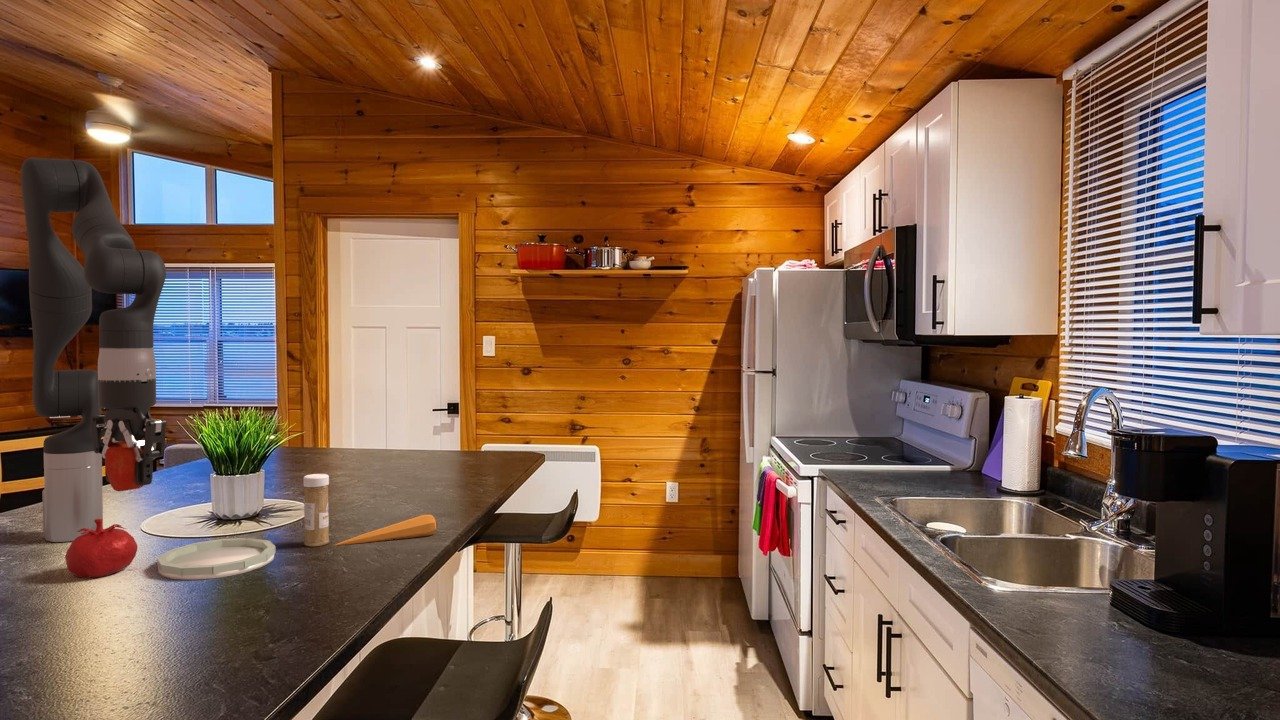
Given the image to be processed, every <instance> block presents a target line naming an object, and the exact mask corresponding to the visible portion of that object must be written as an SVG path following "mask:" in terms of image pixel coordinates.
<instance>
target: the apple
mask: <svg viewBox="0 0 1280 720" xmlns="http://www.w3.org/2000/svg"><path fill="white" fill-rule="evenodd" d="M141 451H142V453H143V452H144V448H143V447H141ZM135 462H137V461H136V459H135V457H134V454H133V451H132V450H131V449H129V448H128V446H127V444H123V445H114V446H111V447H110V448H108V449H107V451H106V454H105V458H104V467H105V466H106V471H107V475H108V479H109V482H108V483H109V484H110V486H111V488H112V489H113V490H114V491H116V492H125V491H126V492H127V491H130V490H131V491H132V490H137V489H141V488H142V487H144V485H143V486H138V485H136V484H135Z"/></svg>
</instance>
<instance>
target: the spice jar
mask: <svg viewBox="0 0 1280 720" xmlns="http://www.w3.org/2000/svg"><path fill="white" fill-rule="evenodd" d="M329 485H330V476H329V475H328V474H327V473H313V474H312V473H311V474H307V475H304V476H303V489H304V501H303V504H304V505H303V511H304V515H303V516H304V520H303V521H304V542H303V544H304V546H306V547H312V548H313V547H322V546H325V545H327V544H329V543H330V539H329V526H330V522H329V521H330V517H329V515H330V514H329V513H330V512H329V511H330V510H329Z"/></svg>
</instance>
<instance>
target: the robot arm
mask: <svg viewBox="0 0 1280 720" xmlns="http://www.w3.org/2000/svg"><path fill="white" fill-rule="evenodd" d="M20 184H21V185H20V187H21V195H22V203H23V211H24V218H25V225H26V234H27V246H28V289H29V290H28V293H29V305H30V306H29V307H30V316H31V317H30V318H31V326H32V338H33V339H32V340H33V355H32V356H33V357H32V358H33V359H32V361H33V362H32V364H33V365H32V403H33V407H34V410H35V412H36V414H37V415H38V416H40V417H43V418H59V417H61V418H62V417H63V418H64V417H65V418H66V417H81V420H80V422H78V423H77V424H75V425H74V426H73V427H70V428H69V429H67V430H64V431H61V432H58V433H55V434H52V435H49V436H47V437H46V438H45V439H43V446H42V447H43V469H44V471H43V478H44V481H43V483H44V489H43V490H42V499H41V500H42V531H43V532H42V536H43V538H45V541H47V542H55V543H59V542H60V543H62V542H63V543H65V542H73V541H74V540H75V539H76V538H77V537H78V536H81V535H83V534H81V533H83V532H85V531H80V532H77V531H79V530H81V529H83V528H85V529H89V530H95V531H96V523H95V520H96V519H103V521H102V527H103V528H104V518H103V517H104V515H103V513H104V504H103V500H104V498H103V459H105V454H106V451H107V449H108V448H110V447H111V446H114V445H123V444H127V446H128V448H129V449H131V450H132V451H133V454H134V457H135V459H136V461H137V462H135V484H136V485H138V486H143V487H144V486H148V485H151V484H152V482H153V477H154V476H153V461H154V460H155V459H156V458H160V457H163V456H164V454H165V443H166V442H165V441H166V431H167V421H166V419H164V418H161V419H159V418H158V419H155V418H153V417H152V415H151V410H150V409H151V408H152V407H153V406H155V405H156V404H157V376H156V375H157V371H156V369H157V368H156V367H157V366H156V362H157V361H156V358H155V357H156V356H155V352H154V351H155V348H154V321H155V316H156V312H157V308H158V304H159V300H160V297H161V294H162V292H163V288H164V286H165V281H166V279H167V278H166V277H167V268H166V265H165V262H164V260H163V258H162V257H161V256H160V255H159V254H158V253H156V252H154V251H151V250H145V249H136V245H135V241H134V240H133V238H132V237H131V235H130V234H129V233H128V231H127V230H126V229H125V227H124V226H123V224H122V223H121V222H120V220H119V219H118V217H117V214H116V212H115V209H114V206H113V203H112V201H111V198H110V195H109V193H108V191H107V188H106V186H105V183H104V181H103V178H102V176H101V174H100V172H99V171H98V170H97V168H96V167H95V166H94V165H93V164H92V163H90V162H88V161H85V160H77V159H65V158H48V157H47V158H46V157H28V158H26V159H25V160H24V161H23V163H22V165H21V169H20ZM51 213H72V214H73V213H77V214H76V216H75V217H74V219H73V220H72V225H71V232H72V236H73V239H74V241H75V243H76V244H77V246H78V247H79V249H80V251H81V252H82V254H83V257H84V265H82V264H81V262H80V261H79V260H77V258H76V257H75V256H74V255H73V254H72V253H71V252H70V251H69V250H68V248H67V247H66V245H64V244H63V242H62V241H61V239H60V238H59V236H58V235H57V234H56V232H55V230H54V229H53V226H52V222H51V219H50V218H51V215H50V214H51ZM92 290H94V291H97V292H99V293H103V294H115V295H119V294H120V295H134V296H135V297H134V299H133V301H132V302H131V303H130V304H129V305H128V306H125V307H122V308H120V307H119V308H116V309H109V310H106V311H102V312H101V314H100V316H99V317H98V318H99V319H98V324H99V325H98V331H99V332H98V338H99V340H98V341H99V352H98V358H97V370H95V369H55V366H56V363H57V361H58V359H59V357H60V355H61V353H62V352H63V350H64V349H65V348H66V346H67V345H68V344H69V343H70V341H72V340H73V338H74V337H75V336H76V335H77V334H78V333H79V332H80V330H81V329H82V328H83V326H85V325H86V323H87V322H88V321H89V318H90V317H91V315H92V311H93V299H92V298H93V297H92V296H93V293H92V292H93V291H92ZM102 409H106V410H105V414H103V415H102ZM102 438H103V439H102ZM143 439H144V440H143ZM102 443H103V444H102ZM154 444H155V449H154V447H153V446H154ZM141 447H143V448H144V452H143V453H142V451H141ZM104 474H105V481H106V482H108V483H110V482H109V479H108V475H107V471H106V466H105V465H104ZM88 533H89V532H88ZM85 534H86V533H85Z"/></svg>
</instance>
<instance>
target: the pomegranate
mask: <svg viewBox="0 0 1280 720" xmlns="http://www.w3.org/2000/svg"><path fill="white" fill-rule="evenodd" d="M102 521H103V522H104V518H103V519H96V520H95V523H96V531H95V530H89V529H85V528H83V529H81V530H79V531H77V532H80V531H85V532H83V533H81V534H83V535H81V536H78V537H77V538H76V539H75V540H74V541H71V543H70V545H69V547H68V549H67V550H66V553H65V556H64V557H65V565H66V567H67V571H69V572H70V573H71V574H72V575H74V576H76V577H78V578H84V579H86V578H87V579H88V578H91V579H93V578H99V577H106V576H109V575H112V574H113V575H114V573H115V574H116V573H119V571H122V570H124V569H126V568H128V567H129V566H130V565H131V564H132V563H133V560H134V559H135V557H136V555H137V552H138V543H137V542H136V540H135V538H134V536H132V534H130V533H129V532H128V531H127V528H125V527H123V526H122V524H118V523H117V524H112V525H111V526H109V527H106V528H104V526H103V527H102ZM88 532H89V533H88ZM85 533H86V534H85Z"/></svg>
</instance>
